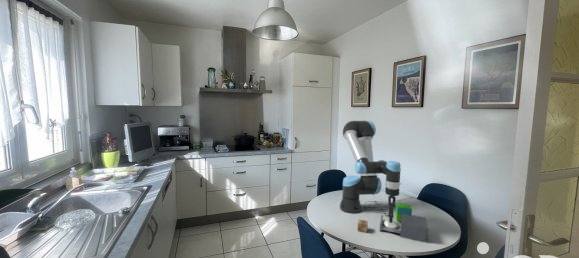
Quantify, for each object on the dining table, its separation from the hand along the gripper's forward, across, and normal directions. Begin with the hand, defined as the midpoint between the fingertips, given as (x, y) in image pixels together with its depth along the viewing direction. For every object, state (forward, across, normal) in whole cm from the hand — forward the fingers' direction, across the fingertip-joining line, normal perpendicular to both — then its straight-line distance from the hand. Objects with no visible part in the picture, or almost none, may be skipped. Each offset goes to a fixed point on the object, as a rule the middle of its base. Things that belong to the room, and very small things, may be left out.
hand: (390, 222), depth 140 cm
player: (+4, 0, -12) cm, 13 cm away
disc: (+2, 0, 0) cm, 2 cm away
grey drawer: (+4, 0, -1) cm, 4 cm away
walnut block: (+4, -8, +15) cm, 18 cm away
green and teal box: (+5, +18, -7) cm, 20 cm away
